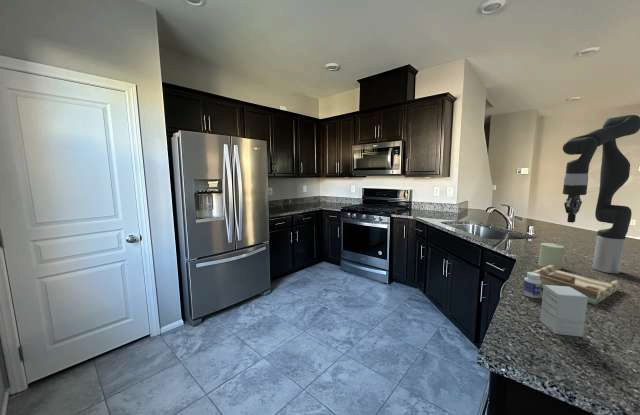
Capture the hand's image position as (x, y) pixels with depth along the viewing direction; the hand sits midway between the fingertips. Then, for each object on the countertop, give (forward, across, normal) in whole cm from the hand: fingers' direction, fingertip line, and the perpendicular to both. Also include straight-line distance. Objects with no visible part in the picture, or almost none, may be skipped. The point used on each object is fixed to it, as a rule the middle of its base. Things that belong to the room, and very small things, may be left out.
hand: (571, 222), depth 114 cm
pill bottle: (+26, +35, 0) cm, 43 cm away
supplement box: (+26, +54, +15) cm, 62 cm away
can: (+27, -13, -10) cm, 32 cm away
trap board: (+26, +10, +5) cm, 28 cm away
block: (+24, +18, +4) cm, 30 cm away
